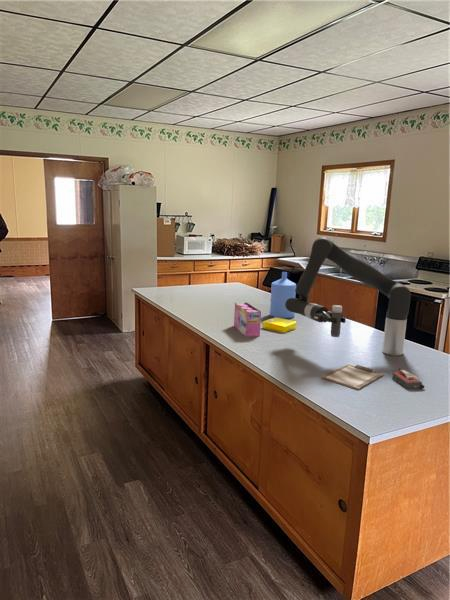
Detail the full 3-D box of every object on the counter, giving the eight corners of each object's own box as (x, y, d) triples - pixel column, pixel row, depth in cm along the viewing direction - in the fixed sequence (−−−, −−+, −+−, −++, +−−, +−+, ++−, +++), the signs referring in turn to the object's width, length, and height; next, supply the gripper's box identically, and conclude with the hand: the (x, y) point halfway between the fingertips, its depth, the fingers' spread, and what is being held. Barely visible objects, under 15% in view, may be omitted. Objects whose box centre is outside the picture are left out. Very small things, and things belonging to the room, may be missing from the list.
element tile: (283, 334, 238) (284, 325, 237) (261, 328, 247) (261, 320, 246) (297, 328, 250) (298, 320, 249) (275, 324, 259) (275, 316, 258)
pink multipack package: (232, 325, 251) (233, 302, 248) (245, 324, 253) (246, 302, 251) (246, 337, 229) (247, 311, 226) (260, 336, 231) (261, 311, 228)
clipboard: (347, 365, 191) (348, 361, 190) (383, 375, 180) (383, 371, 180) (321, 378, 175) (321, 374, 175) (358, 390, 164) (359, 386, 164)
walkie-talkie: (429, 390, 167) (400, 371, 186) (430, 379, 166) (402, 361, 186) (408, 391, 166) (381, 372, 185) (409, 380, 165) (382, 362, 184)
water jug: (293, 319, 269) (296, 274, 263) (268, 317, 272) (270, 273, 266) (294, 314, 284) (297, 271, 278) (270, 312, 287) (273, 269, 281)
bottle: (333, 334, 195) (335, 304, 192) (341, 336, 192) (344, 306, 190) (328, 336, 192) (330, 306, 189) (337, 338, 189) (339, 307, 187)
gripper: (304, 305, 200) (328, 313, 184) (328, 303, 206) (354, 311, 190) (303, 321, 201) (326, 331, 186) (327, 318, 207) (352, 327, 192)
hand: (340, 321), depth 188 cm, fingers closed on bottle, 4 cm apart
